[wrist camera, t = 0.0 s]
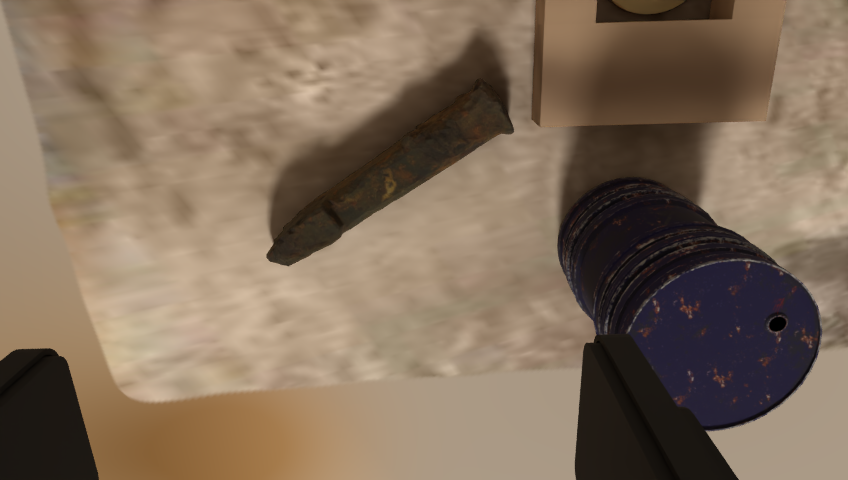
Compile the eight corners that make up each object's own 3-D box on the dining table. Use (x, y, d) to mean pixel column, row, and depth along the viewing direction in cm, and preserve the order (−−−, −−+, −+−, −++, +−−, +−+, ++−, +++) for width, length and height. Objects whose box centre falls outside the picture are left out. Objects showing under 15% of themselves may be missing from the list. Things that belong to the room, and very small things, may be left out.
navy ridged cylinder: (589, 324, 45) (663, 461, 31) (532, 218, 42) (586, 318, 28) (713, 264, 44) (850, 381, 30) (663, 149, 41) (788, 219, 27)
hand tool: (483, 71, 39) (490, 78, 35) (512, 123, 40) (523, 136, 36) (252, 214, 43) (232, 236, 38) (285, 258, 44) (269, 285, 39)
